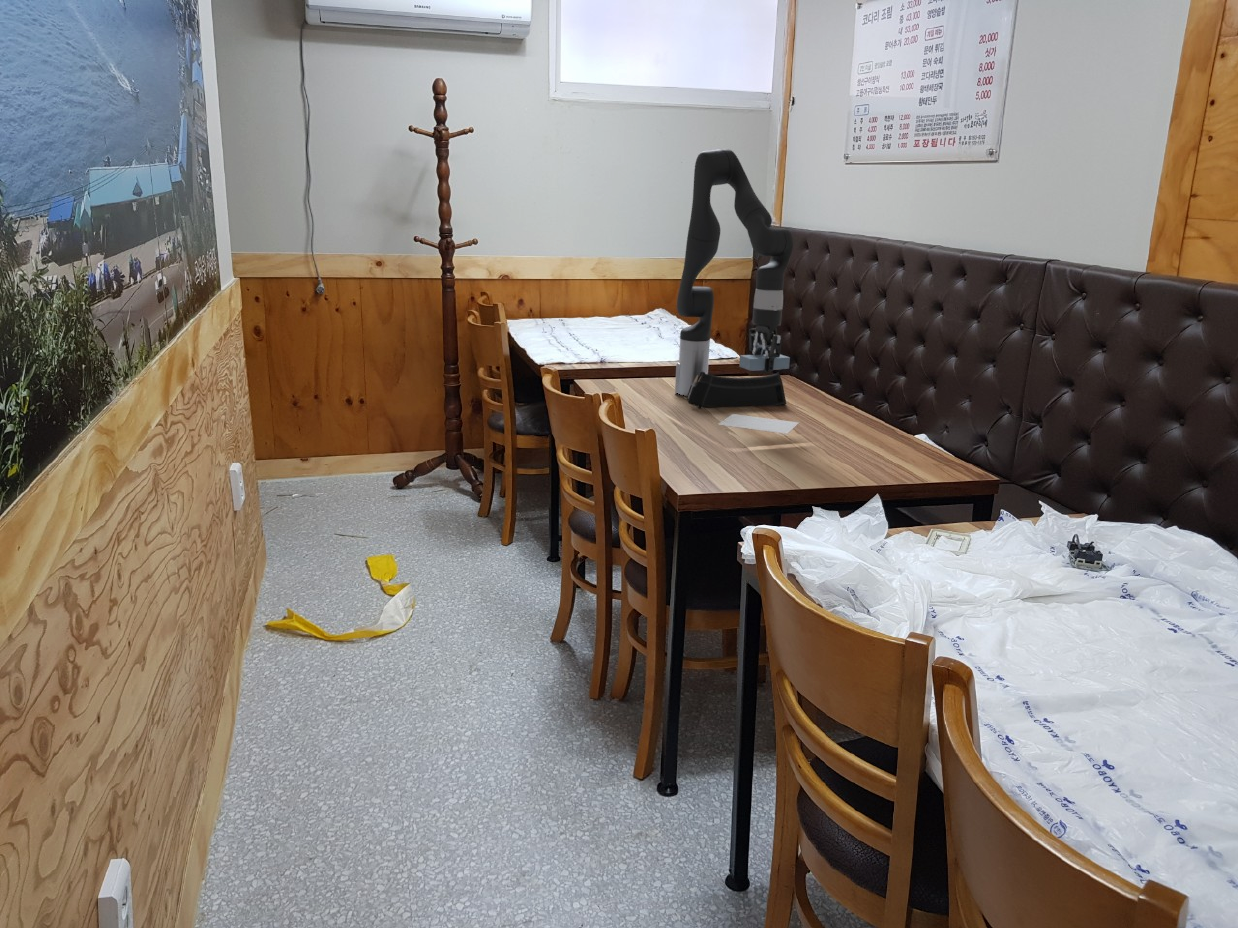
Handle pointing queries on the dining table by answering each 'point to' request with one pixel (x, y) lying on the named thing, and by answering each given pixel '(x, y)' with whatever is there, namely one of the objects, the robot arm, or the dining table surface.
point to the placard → (762, 362)
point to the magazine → (736, 391)
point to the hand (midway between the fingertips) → (762, 370)
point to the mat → (759, 423)
